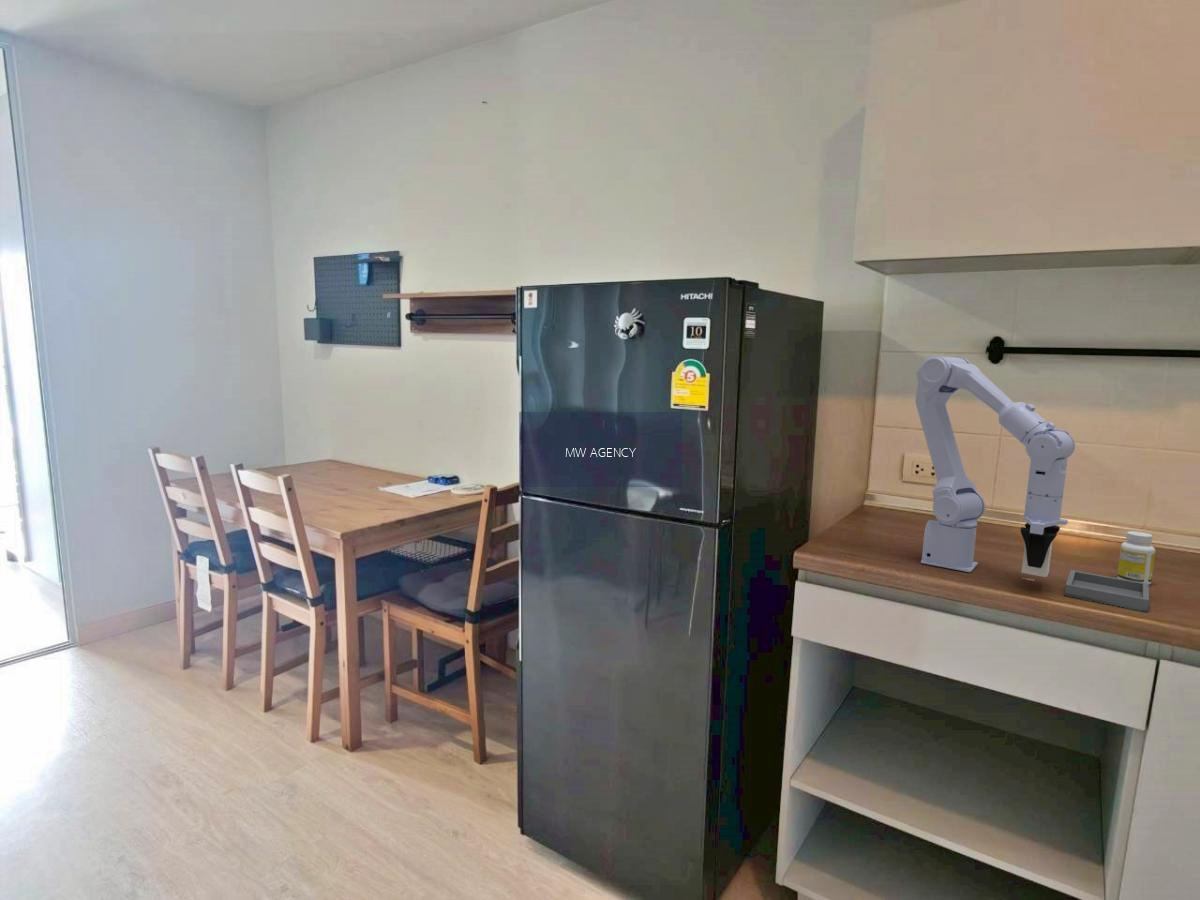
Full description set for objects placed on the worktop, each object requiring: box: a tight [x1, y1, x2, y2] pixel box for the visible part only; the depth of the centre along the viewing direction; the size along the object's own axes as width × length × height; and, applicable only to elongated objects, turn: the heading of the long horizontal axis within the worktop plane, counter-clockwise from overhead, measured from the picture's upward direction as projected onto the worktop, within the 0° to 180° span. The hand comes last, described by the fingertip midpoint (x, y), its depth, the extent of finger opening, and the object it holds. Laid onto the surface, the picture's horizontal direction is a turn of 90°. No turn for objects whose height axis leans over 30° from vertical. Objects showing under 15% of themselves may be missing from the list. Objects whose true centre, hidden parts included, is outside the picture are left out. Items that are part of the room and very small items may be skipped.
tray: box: [1063, 569, 1150, 613], centre depth 126 cm, size 12×12×2 cm
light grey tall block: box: [1021, 540, 1054, 578], centre depth 129 cm, size 4×4×7 cm
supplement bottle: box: [1116, 530, 1156, 586], centre depth 135 cm, size 5×5×10 cm
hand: (1036, 564), depth 129 cm, fingers closed on light grey tall block, 4 cm apart
